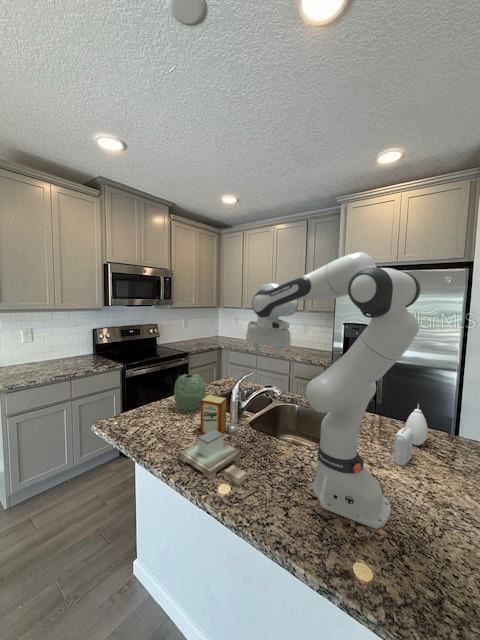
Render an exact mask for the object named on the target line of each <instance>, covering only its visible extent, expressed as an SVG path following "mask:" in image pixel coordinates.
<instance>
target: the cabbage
mask: <svg viewBox="0 0 480 640" xmlns="http://www.w3.org/2000/svg"><path fill="white" fill-rule="evenodd" d="M174 383H175V384H174V389H173V394H174V401H175V404H176V405H177V406H178V407H179V408H180V409H181V410H183V411H185V412H192V411H196V410H197V409H199V408H201V400H202V399H203V398H205V397H206V396H207V395H206V394H207V393H206V392H207V391H208V390H207V383H206V382H205V381H204V378H202V376H201V375H200V374H199V373H195V374H193V373H192V374H191V373H190V374H186V373H184V374H181V375H179V376H178V378H177V379H176V381H175V382H174Z"/></svg>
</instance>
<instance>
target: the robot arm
mask: <svg viewBox="0 0 480 640" xmlns="http://www.w3.org/2000/svg"><path fill="white" fill-rule="evenodd" d="M347 295H348V296H349V299H350V301H351V302H352V303H353V304H354V305H355V307H357V308H358V309H359V310H360V312H361V314H362V315H363V316H364V317H365V318H369V319H370V321H369V323H368V324H367V326H366V327H365V328H364V329H363V331H362V332H361V334H359V336H358V337H357V339H356V340H355V341H354V343H353V344H352V345H351V346H350V347H349V348H348V350H347V351H346V352H345V353H344V354H343V355H342V356H341V357H339V358H338V359H337V360H336V361H335V362H333V363H332V364H331V365H330V366H329V367H328V368H327V369H325V370H324V371H323V372H322V373H320V374H319V375H318V376H316V377H315V378H312V379H311V380H310V381H309V382H307V384H306V388H305V396H306V400H307V403H308V404H309V405H310V406H311V408H312V409H313V410H314V411H315V412H319V413H326V415H325V416H324V417H323V418H322V421H321V424H320V436H319V438H320V439H319V445H318V448H317V449H318V450H317V461H318V462H317V463H318V464H317V469H316V473H315V477H314V480H313V481H312V482H313V483H312V491H313V493H314V495H315V496H316V498H317V500H318V502H319V505H320V507H321V508H322V509H324V510H327V511H329V512H331V513H334V514H337V515H339V516H341V517H344V518H347V519H349V520H353V521H355V522H357V523H359V524H362V525H365V526H367V527H369V528H373V529H377V530H378V529H381V528H382V527H384V526H385V525H386V524H387V522H388V521H389V519H390V517H391V511H392V510H391V509H392V507H391V503H390V501H389V499H388V498H387V496H385V495H384V494H383V491H382V485H381V484H380V482H379V481H378V480H377V479H376V478H375V477H374V476H373V474H371V473H370V471H368V470H367V469H366V468H365V467H364V462H365V459H366V458H365V457H366V456H365V455H363V456H362V457H361V455H360V454H359V452H358V446H359V435H360V434H359V433H360V428H361V425H362V422H363V418H364V415H365V413H366V409H367V408H368V405H369V403H370V401H371V400H372V398H373V397H374V396H375V394H376V391H377V385H376V384H377V383H376V382H377V381H379V380H380V379H381V378H382V377H384V375H385V374H387V372H388V371H389V370H390V369H391V368H392V367H393V366H394V365H395V364H396V362H398V360H399V359H400V358H401V357H402V356H403V355H404V354H405V353H406V352H407V350H408V349H409V348H410V346H411V344H412V343H413V341H414V340H415V338H416V337H417V335H418V333H419V331H420V323H419V321H418V320H417V318H416V317H415V316H414V315H413V314H412V313H411V312H410V311H408V309H407V308H408V307H411V306H412V305H413V304H414V303H416V302H417V300H418V299H419V297H420V295H421V285H420V281H419V280H418V279H417V278H416V277H415V275H413V274H411V273H409V272H408V271H403V270H397V269H395V268H390V267H377V266H376V263H375V261H374V259H373V258H372V257H371V255H370V254H368V253H366V252H363V251H357V252H352V253H349V254H347V255H344V256H341V257H339V258H337V259H334V260H332V261H330V262H328V263H327V264H324V265H323V266H321V267H319V268H317V269H315V270H312V271H311V272H309V273H307V274H304V275H302V276H300V277H298V278H295V279H293V280H290V281H288V282H285V283H283V284H281V285H280V284H278V283H277V282H267V283H263V284H262V285H260V286H259V290H258V291H257V292H256V293H255V295H254V296H253V298H252V300H251V308H252V309H253V311H254V313H255V315H257V317H256V318H257V320H256V321H253V320H252V321H250V322H248V323H247V330H246V336H245V337H246V339H245V340H246V343H252V347H253V348H254V354H255V355H259V354H261V349H259V345H263V346H270V347H275V350H276V351H275V352H274V353H273V358H275V359H279V357H280V352H282V350H283V349H286V348H289V347H290V346H291V332H290V329H289V328H290V323H289V322H287V321H285V320H283V319H281V318H280V317H291V316H293V315H295V313H296V312H297V309H298V307H299V301H300V300H308V301H309V300H311V301H312V300H314V301H326V300H333V299H338V298H341V297H344V296H347Z"/></svg>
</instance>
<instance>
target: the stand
mask: <svg viewBox="0 0 480 640" xmlns="http://www.w3.org/2000/svg"><path fill="white" fill-rule="evenodd" d="M240 459H241V450H239V449H237V448H235V447H233V446H232V445H229V444H227V443H226V442H223V449H222V450H221V451H219V452H217V453H216V454H214V455H212V456H211V457H209V458H206V457H204V456H203V455H201V454H199V453H198V442H197V443H195V444H193V445H191V446H190V447H187V448H186V449H184V450H182V451H180V452H179V461H181V462H182V463H184V464H186V463H187V464H189V465H190V466H192V467H193V468H195V469H197V470H198V471H200V472H202V475H203V477H205V478H206V479H208V480H211V479H213V478H214V477H215V476H217V472H219V471H220V470H221V469H223V468H225V467H226V466H228V465H229V464H231V463H232V462H234V463H236V462H237V461H239V460H240Z"/></svg>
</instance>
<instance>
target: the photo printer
mask: <svg viewBox="0 0 480 640" xmlns="http://www.w3.org/2000/svg"><path fill="white" fill-rule="evenodd" d="M393 446H394V447H393V448H394V449H393V458H392V459H393V461H392V462H394V464H396V465H398V466H400V467H402V466H405V465H407V463H409V461H410V460H411V458H412V453H413V431H412V430H411V429H410V428H407V427H405V426H404V427H402V428H401V429H398V431H397V433H396V434H395V436H394V445H393Z"/></svg>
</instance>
